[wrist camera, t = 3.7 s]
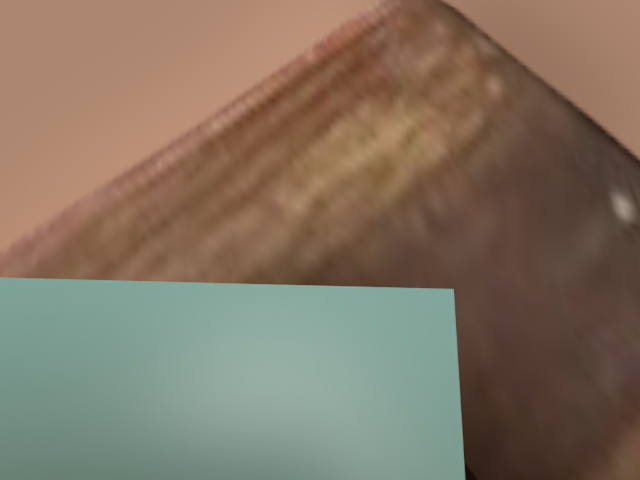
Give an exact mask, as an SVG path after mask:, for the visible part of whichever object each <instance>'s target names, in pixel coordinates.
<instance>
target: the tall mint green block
mask: <svg viewBox="0 0 640 480" xmlns="http://www.w3.org/2000/svg"><path fill="white" fill-rule="evenodd" d="M0 480H465V466H464V450H463V434H462V417H461V401H460V384H459V368H458V352H457V335H456V319H455V303H454V289H430V288H390V287H351V286H311V285H272V284H232V283H193V282H153V281H114V280H74V279H35V278H0Z"/></svg>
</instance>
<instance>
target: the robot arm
mask: <svg viewBox="0 0 640 480" xmlns="http://www.w3.org/2000/svg"><path fill="white" fill-rule="evenodd" d="M464 466H465V480H477V478H476V477H475V476H474V474H473V473H472V472H471V470H470V469H469V467H468V466H467V465H466V463H465V462H464Z"/></svg>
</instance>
